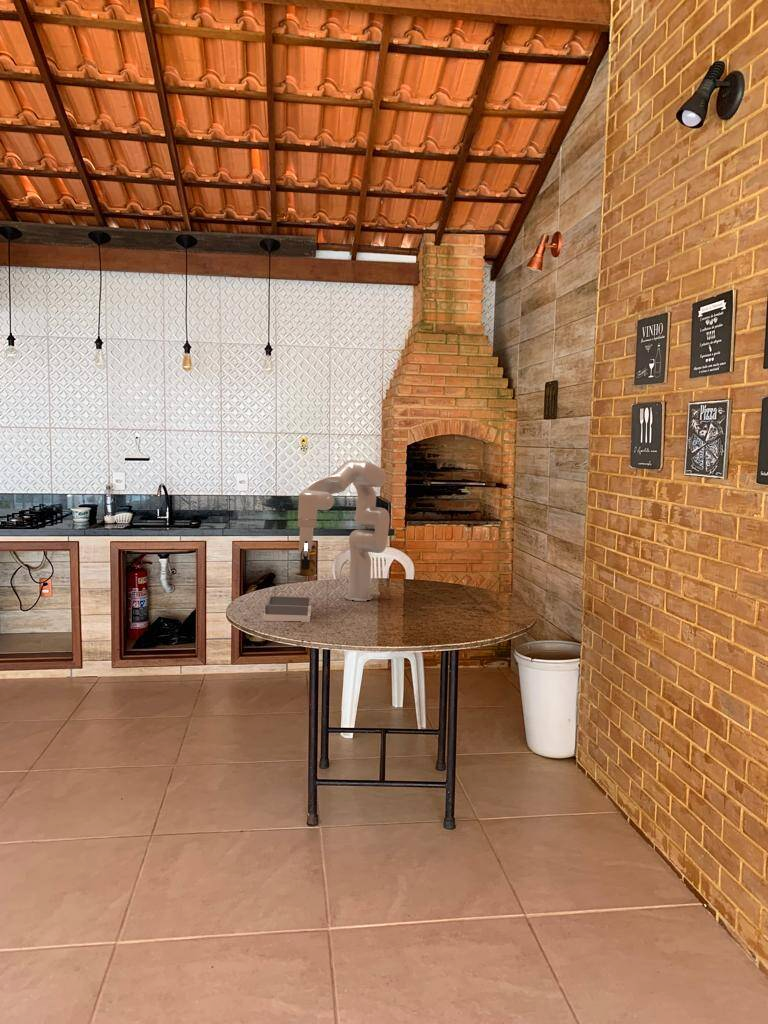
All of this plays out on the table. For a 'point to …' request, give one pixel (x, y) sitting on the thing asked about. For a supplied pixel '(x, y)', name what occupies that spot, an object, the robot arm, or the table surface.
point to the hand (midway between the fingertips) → (305, 567)
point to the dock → (287, 609)
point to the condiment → (311, 565)
